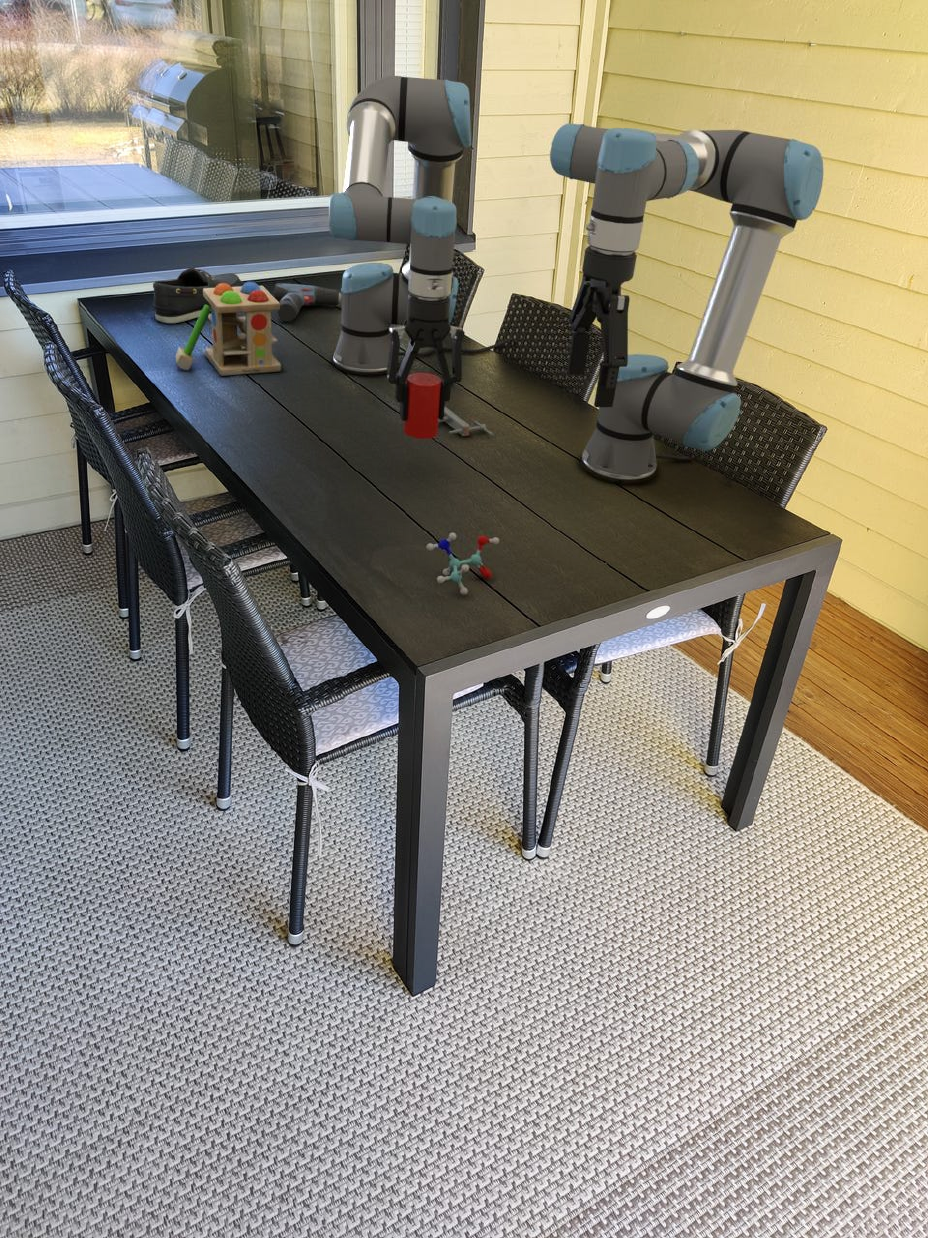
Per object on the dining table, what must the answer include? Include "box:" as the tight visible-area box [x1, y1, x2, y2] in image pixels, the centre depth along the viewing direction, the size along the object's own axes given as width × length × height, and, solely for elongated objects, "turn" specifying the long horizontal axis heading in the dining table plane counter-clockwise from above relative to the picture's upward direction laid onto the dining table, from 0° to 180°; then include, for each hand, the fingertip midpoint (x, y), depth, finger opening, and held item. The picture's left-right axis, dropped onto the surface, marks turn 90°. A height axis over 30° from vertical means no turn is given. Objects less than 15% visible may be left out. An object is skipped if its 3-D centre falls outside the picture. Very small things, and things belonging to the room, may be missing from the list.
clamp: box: [438, 406, 495, 438], centre depth 210 cm, size 15×2×10 cm
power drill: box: [274, 282, 342, 322], centre depth 265 cm, size 5×19×20 cm
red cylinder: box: [403, 372, 442, 440], centre depth 184 cm, size 6×6×10 cm
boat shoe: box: [152, 267, 243, 324], centre depth 261 cm, size 13×33×10 cm, turn 147°
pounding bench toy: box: [174, 281, 282, 377], centre depth 225 cm, size 23×14×18 cm, turn 116°
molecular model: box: [426, 532, 500, 596], centre depth 158 cm, size 12×10×10 cm
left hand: (421, 417), depth 185 cm, fingers closed on red cylinder, 6 cm apart
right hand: (588, 389), depth 153 cm, fingers open, 13 cm apart
